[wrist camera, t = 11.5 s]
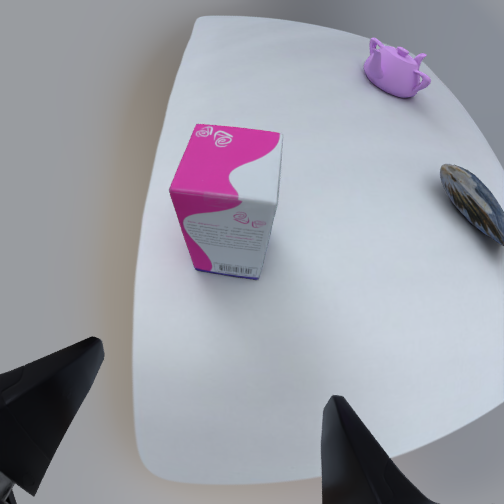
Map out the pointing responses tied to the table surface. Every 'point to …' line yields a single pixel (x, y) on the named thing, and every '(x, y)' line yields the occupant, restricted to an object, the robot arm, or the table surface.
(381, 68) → the teapot
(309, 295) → the table surface
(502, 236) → the seashell
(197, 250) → the supplement box
